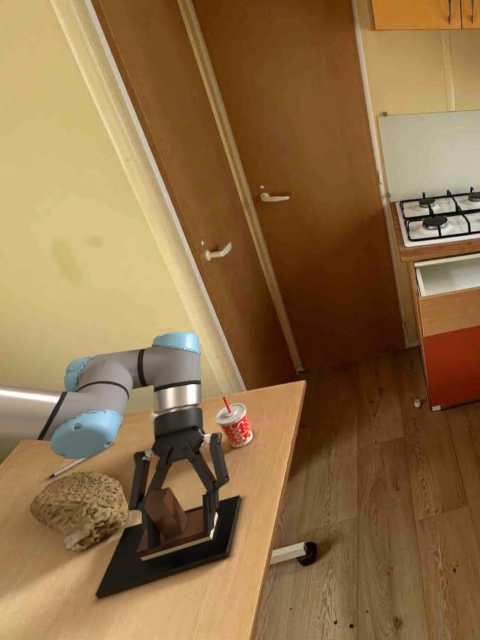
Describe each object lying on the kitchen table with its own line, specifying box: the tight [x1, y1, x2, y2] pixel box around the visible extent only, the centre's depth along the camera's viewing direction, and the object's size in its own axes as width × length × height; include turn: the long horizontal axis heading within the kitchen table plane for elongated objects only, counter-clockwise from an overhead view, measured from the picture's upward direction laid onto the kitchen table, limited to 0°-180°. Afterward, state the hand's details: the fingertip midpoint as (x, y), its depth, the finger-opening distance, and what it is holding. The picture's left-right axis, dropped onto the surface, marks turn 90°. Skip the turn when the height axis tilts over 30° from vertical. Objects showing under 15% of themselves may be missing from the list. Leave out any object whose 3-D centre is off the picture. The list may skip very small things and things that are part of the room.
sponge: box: [29, 470, 130, 553], centre depth 85 cm, size 13×8×20 cm
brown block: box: [137, 486, 218, 561], centre depth 78 cm, size 11×5×12 cm, turn 110°
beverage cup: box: [214, 396, 253, 448], centre depth 99 cm, size 6×6×14 cm
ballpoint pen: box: [49, 458, 88, 479], centre depth 97 cm, size 10×1×1 cm, turn 147°
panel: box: [94, 494, 243, 600], centre depth 81 cm, size 20×12×2 cm, turn 110°
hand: (182, 539), depth 77 cm, fingers open, 8 cm apart
